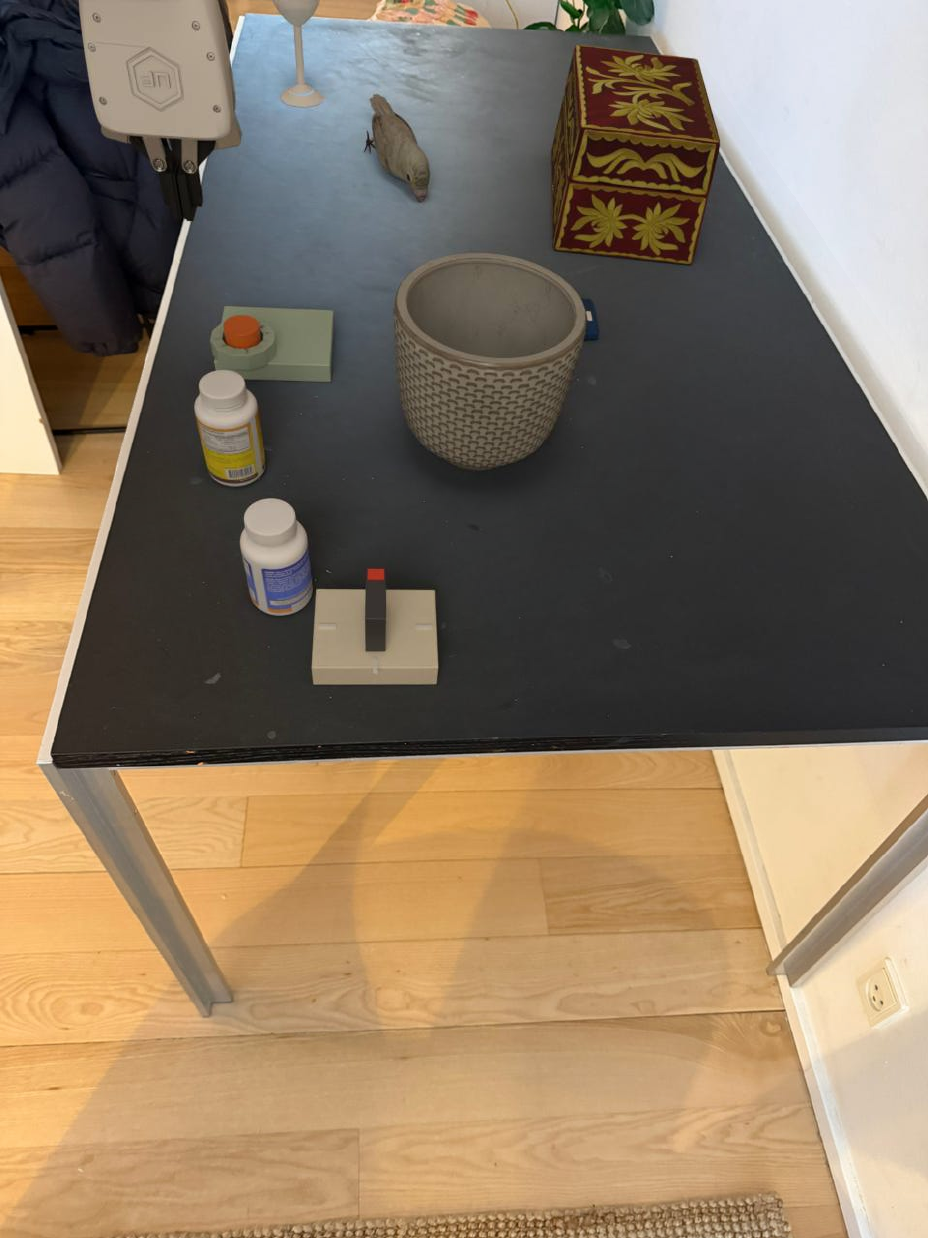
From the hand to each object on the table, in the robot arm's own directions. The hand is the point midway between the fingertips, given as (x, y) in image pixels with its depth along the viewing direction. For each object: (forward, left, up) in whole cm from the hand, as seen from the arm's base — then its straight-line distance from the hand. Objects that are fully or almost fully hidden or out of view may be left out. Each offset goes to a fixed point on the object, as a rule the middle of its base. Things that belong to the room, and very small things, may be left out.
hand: (185, 212), depth 74 cm
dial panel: (+16, -31, -20) cm, 40 cm away
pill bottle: (+8, -25, -20) cm, 34 cm away
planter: (+26, -5, -20) cm, 34 cm away
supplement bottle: (+3, -10, -20) cm, 23 cm away
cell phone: (+35, +17, -20) cm, 44 cm away
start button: (+2, +6, -17) cm, 18 cm away
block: (+5, +9, -20) cm, 23 cm away
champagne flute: (+4, +73, -20) cm, 76 cm away
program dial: (+16, -31, -18) cm, 39 cm away
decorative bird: (+19, +50, -20) cm, 57 cm away
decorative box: (+50, +45, -20) cm, 70 cm away
